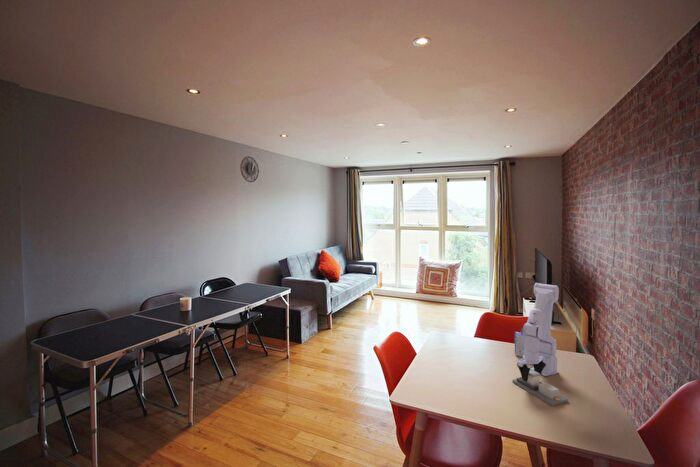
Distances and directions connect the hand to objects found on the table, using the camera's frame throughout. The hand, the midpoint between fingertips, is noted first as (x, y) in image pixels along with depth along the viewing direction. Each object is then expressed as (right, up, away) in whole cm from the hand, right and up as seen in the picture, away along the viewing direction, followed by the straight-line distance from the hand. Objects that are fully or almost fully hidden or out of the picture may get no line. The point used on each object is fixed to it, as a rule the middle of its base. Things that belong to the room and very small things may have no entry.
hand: (531, 378), depth 143 cm
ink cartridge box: (+15, -2, +32) cm, 36 cm away
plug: (0, -3, 0) cm, 3 cm away
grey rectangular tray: (+1, -4, -3) cm, 5 cm away
